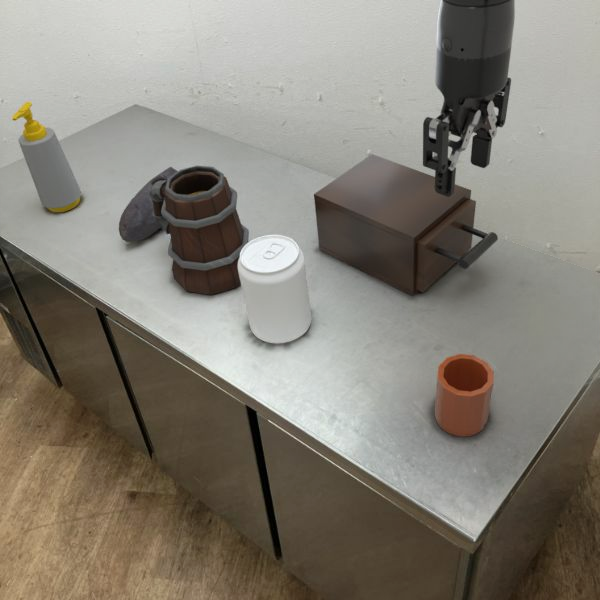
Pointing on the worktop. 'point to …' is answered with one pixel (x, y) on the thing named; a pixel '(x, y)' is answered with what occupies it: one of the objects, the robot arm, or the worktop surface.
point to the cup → (463, 394)
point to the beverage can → (275, 288)
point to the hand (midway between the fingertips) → (462, 178)
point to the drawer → (450, 245)
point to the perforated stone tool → (141, 212)
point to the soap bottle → (47, 164)
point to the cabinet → (381, 218)
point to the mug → (201, 228)
